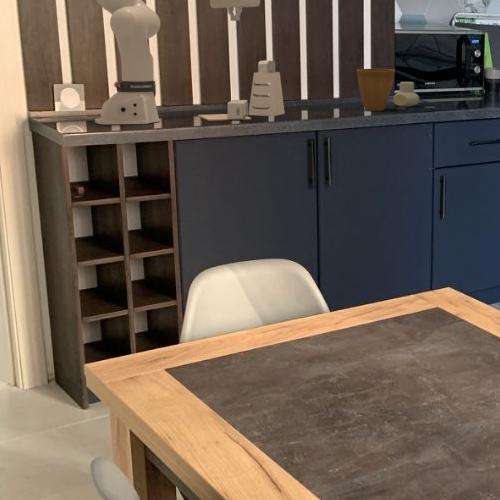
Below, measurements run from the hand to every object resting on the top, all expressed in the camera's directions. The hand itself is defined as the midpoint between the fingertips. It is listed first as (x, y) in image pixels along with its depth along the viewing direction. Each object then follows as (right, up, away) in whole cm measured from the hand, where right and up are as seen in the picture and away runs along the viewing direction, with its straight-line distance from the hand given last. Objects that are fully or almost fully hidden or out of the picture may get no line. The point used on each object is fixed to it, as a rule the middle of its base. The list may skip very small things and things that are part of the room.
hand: (235, 20), depth 301 cm
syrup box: (0, -34, -5) cm, 34 cm away
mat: (-4, -34, +6) cm, 35 cm away
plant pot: (+55, -27, +33) cm, 70 cm away
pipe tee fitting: (+71, -23, +49) cm, 89 cm away
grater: (+12, -31, +18) cm, 38 cm away
